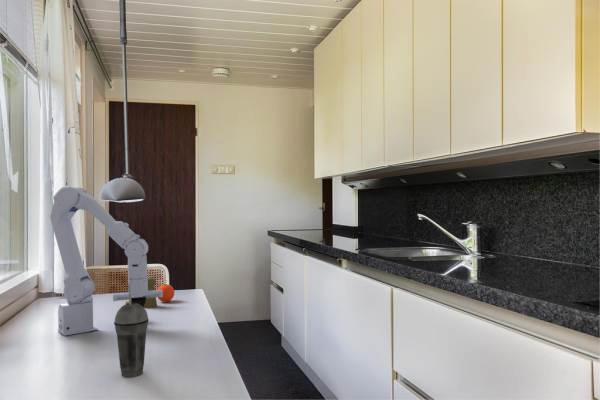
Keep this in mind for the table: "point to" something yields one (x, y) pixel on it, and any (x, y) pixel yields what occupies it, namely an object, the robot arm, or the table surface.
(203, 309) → the table surface
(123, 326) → the beverage cup
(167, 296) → the clementine
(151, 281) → the cork
